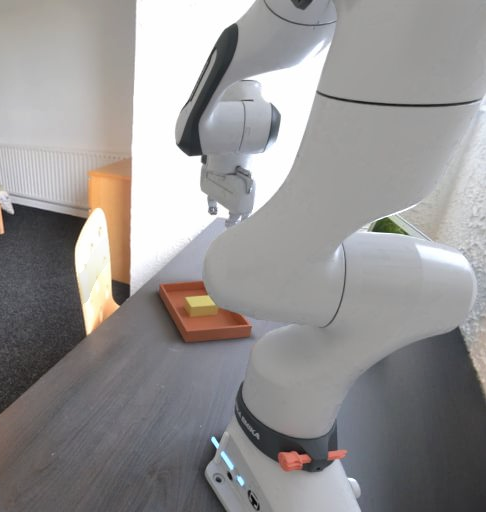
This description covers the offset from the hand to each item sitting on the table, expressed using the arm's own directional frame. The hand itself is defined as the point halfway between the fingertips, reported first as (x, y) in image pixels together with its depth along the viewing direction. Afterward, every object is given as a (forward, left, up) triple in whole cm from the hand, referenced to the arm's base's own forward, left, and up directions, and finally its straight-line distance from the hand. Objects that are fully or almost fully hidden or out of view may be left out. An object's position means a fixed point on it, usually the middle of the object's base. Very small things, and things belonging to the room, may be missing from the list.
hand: (220, 220), depth 87 cm
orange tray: (-4, +4, -23) cm, 24 cm away
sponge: (-4, +4, -22) cm, 23 cm away
